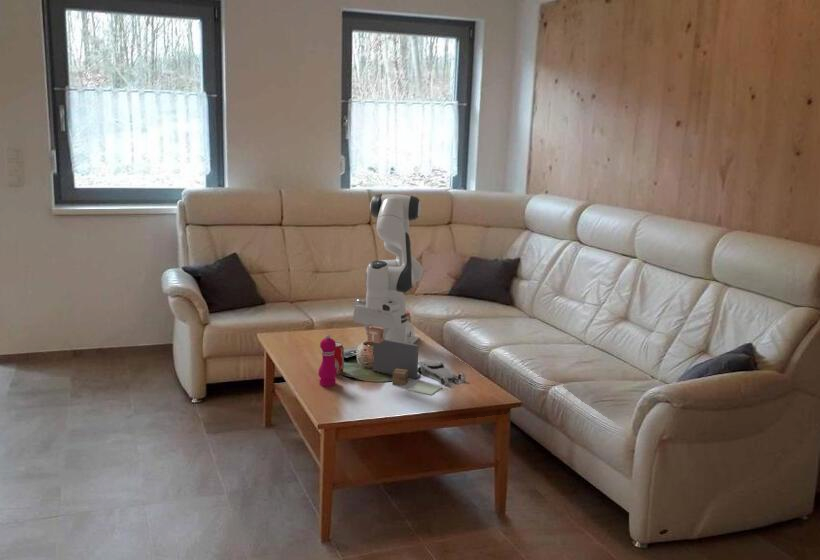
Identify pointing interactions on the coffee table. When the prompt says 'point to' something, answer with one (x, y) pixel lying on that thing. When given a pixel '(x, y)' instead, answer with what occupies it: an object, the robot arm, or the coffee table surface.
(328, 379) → the pepper mill
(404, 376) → the walnut block
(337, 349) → the soda can
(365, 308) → the robot arm
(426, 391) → the felt mat
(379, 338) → the letter block
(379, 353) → the screen
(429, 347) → the coffee table surface
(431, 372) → the car model
